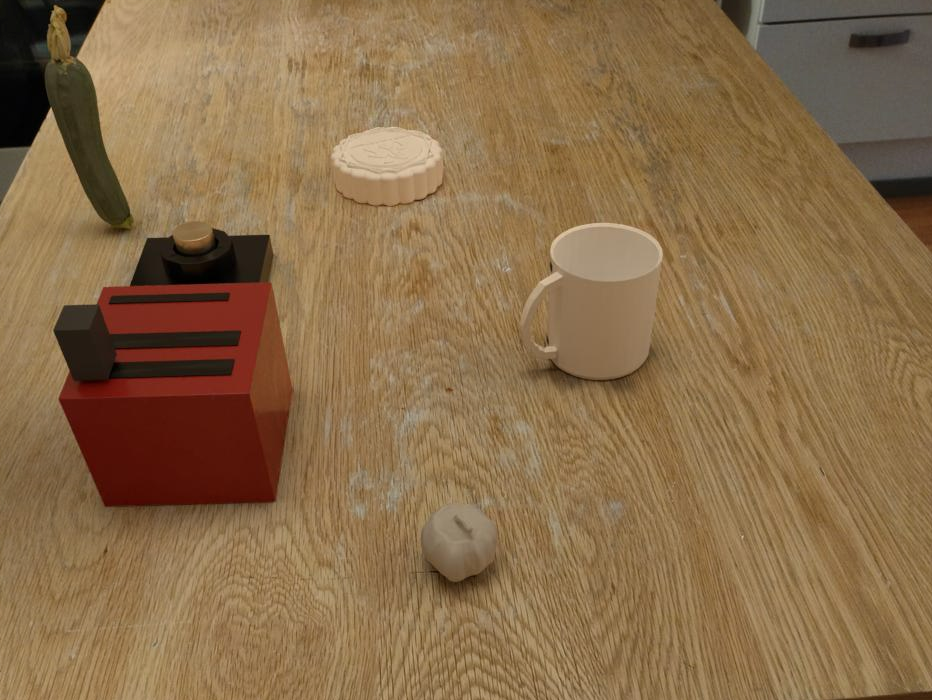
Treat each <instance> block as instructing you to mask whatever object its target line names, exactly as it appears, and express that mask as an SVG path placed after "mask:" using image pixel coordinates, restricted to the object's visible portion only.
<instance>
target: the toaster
mask: <svg viewBox="0 0 932 700" xmlns="http://www.w3.org/2000/svg"><path fill="white" fill-rule="evenodd" d="M96 304H99V306H100V309H101V312H102V314H103V317H104V320H105V323H106V326H107V328H108V331H109V334H110V337H111V340H112V342H113V345H114V348H115V351H116V354H117V356H116V358H115V361H114V364H113V367H112V370H111V372H110V375H109V378H108V380H85V381H74V380H73V378H72V376H71V373H70V371H68V374H67V376H66V379H65V382H64V384H63V386H62V387H61V388H62V389H61V391H60V394H59V396H58V403H59V404H60V406H61V409H62V411H63V413H64V415H65V418H66V421H67V423H68V424H69V427H70V430H71V432H72V434H73V437H74V439H75V441H76V443H77V446H78V448H79V451H80V453H81V455H82V457H83V459H84V462H85V464H86V466H87V468H88V471H89V474H90V476H91V478H92V480H93V483H94V485H95V487H96V489H97V492H98V494H99V496H100V499H101V501H102V504H103V506H104V507H106V508H108V507H109V508H110V507H140V506H142V507H143V506H144V507H145V506H174V505H175V506H176V505H178V506H179V505H209V504H212V505H213V504H214V505H215V504H245V503H247V504H248V503H275V502H276V500H277V493H278V487H279V480H280V474H281V467H282V461H283V455H284V449H285V442H286V435H287V428H288V422H289V417H290V416H289V415H290V411H291V404H292V397H293V390H294V389H293V384H292V378H291V372H290V369H289V368H290V367H289V364H288V358H287V353H286V349H285V343H284V337H283V333H282V329H281V324H280V319H279V313H278V308H277V302H276V297H275V293H274V288H273V284H272V282H269V281H268V282H262V283H226V284H190V285H154V286H130V285H126V286H125V285H120V286H102V288H101V291H100V294H99V296H98V299H97V302H96Z"/></svg>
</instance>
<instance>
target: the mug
mask: <svg viewBox="0 0 932 700" xmlns="http://www.w3.org/2000/svg"><path fill="white" fill-rule="evenodd" d="M549 248H550V249H549V269H548V271H549V272H548V276H547V277H545V278H543V279H542V280H539V282H538V283H537V284H536V286H535V287H534V289H533V290H532V291H531V293H530V295H529V296H528V298H527V299H526V302H525V304H524V306H523V310H522V313H521V316H520V320H519V333H520V340H521V343H522V345H523V347H525V348H526V349H527V351H530V352H531V353H532V354H533V355H534V357H535V358H538V359H541V360H551V361H552V363H553V364H554V365H555V366H556V367H557V368H558V369H560V370H561V371H563V372H564V373H567V375H571V376H574V377H576V378H580V379H583V380H592V381H608V380H615V379H620V378H623V377H625V376H628V375H630V374H632V373H634V372H635V371H637V370H638V369H639V368H640V367H642V365H643V364H644V363H645V362H646V360H647V358H648V357H649V354H650V348H651V340H652V333H653V326H654V321H655V312H656V307H657V306H656V305H657V299H658V292H659V283H660V277H661V269H662V263H663V256H664V252H663V248H662V246H661V244H660V242H659V241H658V240H657V239H656V238H655V237H653V236H652V235H651V234H649V233H648V232H646V231H644V230H641V229H639V228H637V227H633V226H630V225H626V224H622V223H613V222H595V223H594V222H593V223H585V224H582V225H578V226H574V227H571V228H569V229H567V230H565V231H563V232H561V233H560V234H558V235H557V236H556V237H555V238H554V239H553V241H552V243H551V245H550V247H549ZM546 297H547V317H546V335H545V336H546V339H545V347H543V346H542V345H539V344H538V343H537V342H534V340H533V338H532V332H531V330H532V329H531V328H532V324H533V321H534V319H535V316H536V313H537V311H538V309H539V307H540V305H541V304H542V302H543V301H544V299H545V298H546Z"/></svg>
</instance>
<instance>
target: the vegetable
mask: <svg viewBox="0 0 932 700" xmlns="http://www.w3.org/2000/svg"><path fill="white" fill-rule="evenodd" d="M67 19H68V17H67V13H66V11H65V10H64V8H62V7H59V6H58V5H57V4H54V5H53V10H51V14H50V19H49V21H50V23H49V24H48V29H47V34H46V42H47V51H48V52H49V54H50V56H51V59H50V60H48V62H47V64H46V67H45V70H44V85H45V90H46V95H47V98H48V99H47V100H48V102H49V106H50V108H51V112H52V113H53V117H54V120H55V122H56V126H57V128H58V130H59V133H60V135H61V138H62V140H63V143H64V146H65V148H66V152H67V154H68V155H69V158H70V161H71V162H72V165H73V168H74V170H75V172H76V174H77V175H76V176H77V177H78V179H79V183H80V185H81V187H82V189H83V191H84V193H85V195H86V197H87V199H88V200H89V202H90V204H91V206H92V207H93V210H94V211H95V212H96V214H97V215H98V217H99V218H100V219H101V220H102V221H103V222H105V223H107V224H108V225H111V226H113V227H114V228H117V229H118V230H120V229H126V230H131V229H132V227H131V226H132V225H133V224H134V222H135V221H134V217H133V214H132V213H131V207H130V206H129V202H128V199H127V197H126V194H125V192H124V191H123V188H122V186H121V183H120V181H119V178H118V175H117V173H116V171H115V169H114V167H113V165H112V163H111V161H110V159H109V156H108V154H107V149H106V147H105V143H104V139H103V134H102V128H101V119H100V112H99V105H98V96H97V91H96V87H95V84H94V83H95V82H94V81H93V78H92V75H91V73H90V71H89V69H88V68H87V66H86V64H84V63H83V62H82V61H81V60H80V59H79V58H77V57H76V56H72V55H71V50H72V43H71V37H70V33H69V31H68V28H67V26H66V22H67Z"/></svg>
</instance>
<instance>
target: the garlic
mask: <svg viewBox="0 0 932 700" xmlns="http://www.w3.org/2000/svg"><path fill="white" fill-rule="evenodd" d="M498 534H499V530H498V526H497V525H496V523H495V522H494V521H493V520H492V519H490V518H489V517H488V515H486V513H484V512H483V511H481V510H480V509H479V508H478V507H477V506H475V505H473V504H467V503H458V502H457V503H456V502H453V501H452V502H448V503H447V504H445V505H442V506H440V507H439V508H438V509H437V510H436V511H434V512H432V513H431V514H430V516H429V517H428V519H427V520H426V522H425V523H424V524H423V526H422V528H421V531H420V546H421V551H422V554H423V556H424V558H425V559H426V560H427V562H429V563H430V564H431V565H432V566H433V567H434V569H436V570H437V571H438V572H439V573H440V574H441V575H442V576H443V577H445V578H446V579H447V580H448V581H450V582H452V583H458V582H461V581H464V580H465V579H466V578H468V577H471V576H476V575H478V574H480V573H482V572H483V571H484V569H486V568H487V567H488V566H490V565H491V564H492V563H493V561H494V558H495V552H496V549H497V545H498V536H499V535H498Z"/></svg>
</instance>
